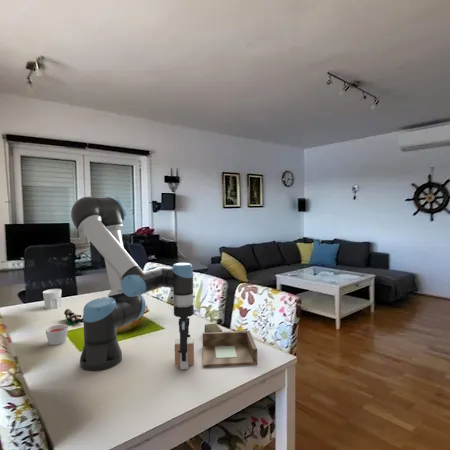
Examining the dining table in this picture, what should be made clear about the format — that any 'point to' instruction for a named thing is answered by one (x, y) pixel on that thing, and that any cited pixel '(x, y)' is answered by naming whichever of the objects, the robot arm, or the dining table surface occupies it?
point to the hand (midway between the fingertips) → (184, 361)
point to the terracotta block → (189, 347)
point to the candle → (57, 334)
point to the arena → (238, 339)
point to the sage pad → (225, 352)
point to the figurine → (72, 317)
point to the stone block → (212, 328)
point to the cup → (52, 298)
